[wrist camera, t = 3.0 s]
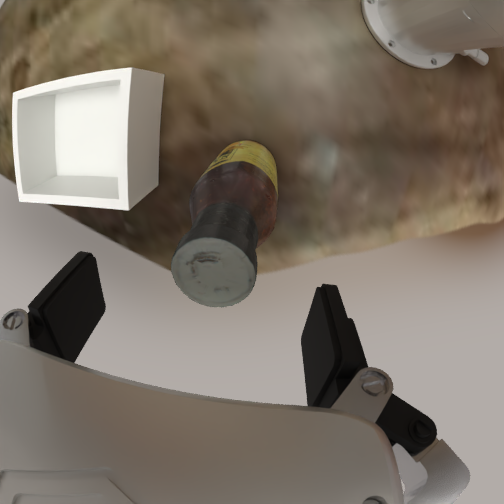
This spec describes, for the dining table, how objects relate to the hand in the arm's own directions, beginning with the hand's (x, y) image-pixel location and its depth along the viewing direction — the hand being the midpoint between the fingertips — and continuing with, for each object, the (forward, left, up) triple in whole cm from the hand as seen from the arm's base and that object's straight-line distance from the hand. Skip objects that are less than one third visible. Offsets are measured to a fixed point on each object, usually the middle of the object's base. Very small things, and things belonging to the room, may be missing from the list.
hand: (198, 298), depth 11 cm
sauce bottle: (0, 0, -22) cm, 22 cm away
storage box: (+18, -4, -22) cm, 28 cm away
